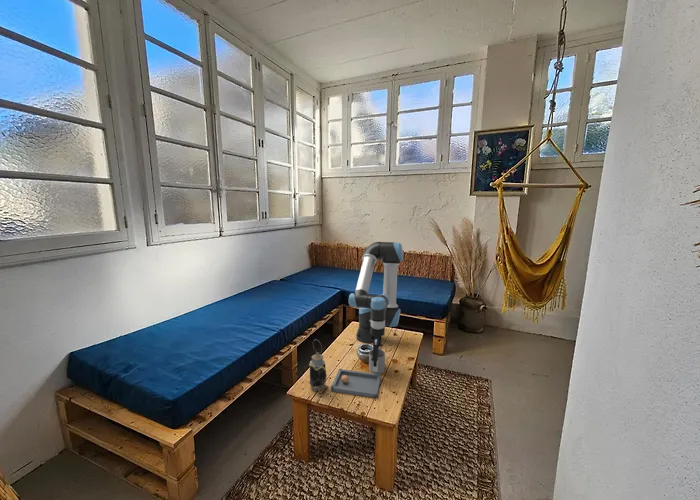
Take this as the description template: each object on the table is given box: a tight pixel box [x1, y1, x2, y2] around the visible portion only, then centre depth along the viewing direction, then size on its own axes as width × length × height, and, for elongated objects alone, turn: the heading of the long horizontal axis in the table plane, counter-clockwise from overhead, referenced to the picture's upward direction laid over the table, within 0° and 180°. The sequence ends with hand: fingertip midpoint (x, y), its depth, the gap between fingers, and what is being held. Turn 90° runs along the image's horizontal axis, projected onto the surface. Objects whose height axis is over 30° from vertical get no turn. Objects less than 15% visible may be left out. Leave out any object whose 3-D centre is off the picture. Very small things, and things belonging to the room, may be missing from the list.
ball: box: [341, 375, 349, 383], centre depth 142 cm, size 4×4×4 cm
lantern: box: [308, 338, 327, 392], centre depth 137 cm, size 9×8×25 cm
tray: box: [330, 368, 382, 399], centre depth 141 cm, size 16×22×2 cm
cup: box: [368, 349, 386, 374], centre depth 153 cm, size 8×8×10 cm
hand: (376, 364), depth 153 cm, fingers open, 13 cm apart
